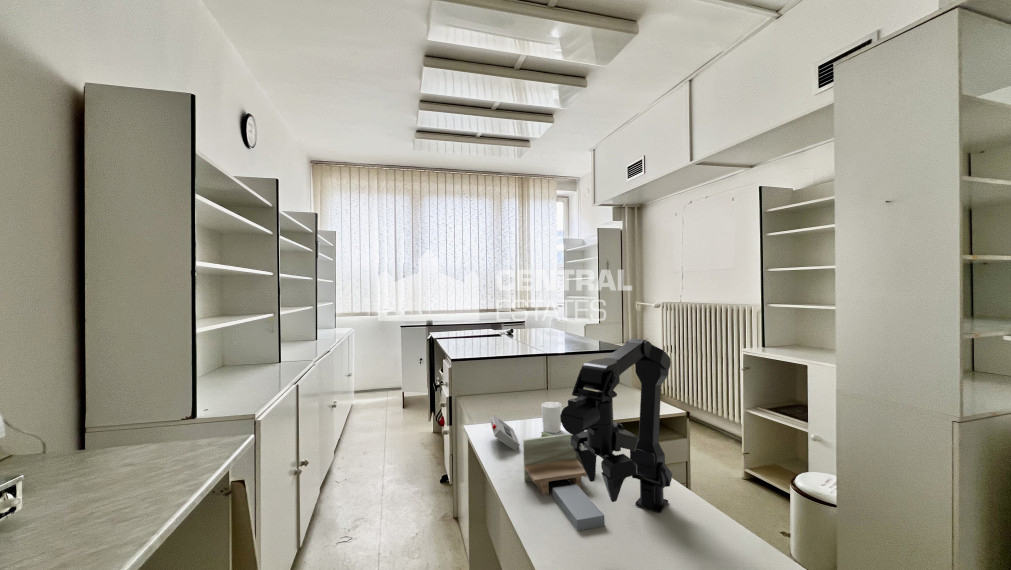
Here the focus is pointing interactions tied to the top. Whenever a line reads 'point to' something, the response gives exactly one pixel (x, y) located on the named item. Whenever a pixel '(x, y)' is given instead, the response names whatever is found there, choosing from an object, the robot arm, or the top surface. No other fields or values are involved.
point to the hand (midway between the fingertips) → (602, 490)
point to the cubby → (551, 461)
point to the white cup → (551, 416)
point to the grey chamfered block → (578, 507)
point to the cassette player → (504, 432)
